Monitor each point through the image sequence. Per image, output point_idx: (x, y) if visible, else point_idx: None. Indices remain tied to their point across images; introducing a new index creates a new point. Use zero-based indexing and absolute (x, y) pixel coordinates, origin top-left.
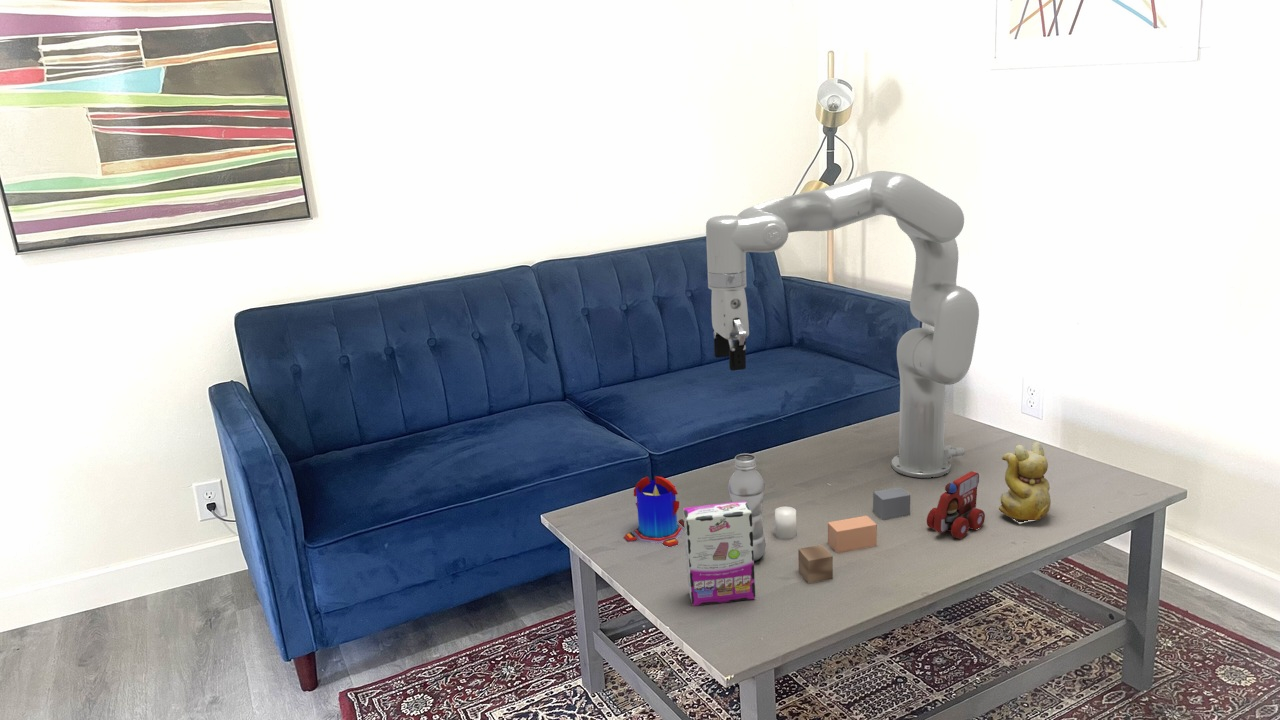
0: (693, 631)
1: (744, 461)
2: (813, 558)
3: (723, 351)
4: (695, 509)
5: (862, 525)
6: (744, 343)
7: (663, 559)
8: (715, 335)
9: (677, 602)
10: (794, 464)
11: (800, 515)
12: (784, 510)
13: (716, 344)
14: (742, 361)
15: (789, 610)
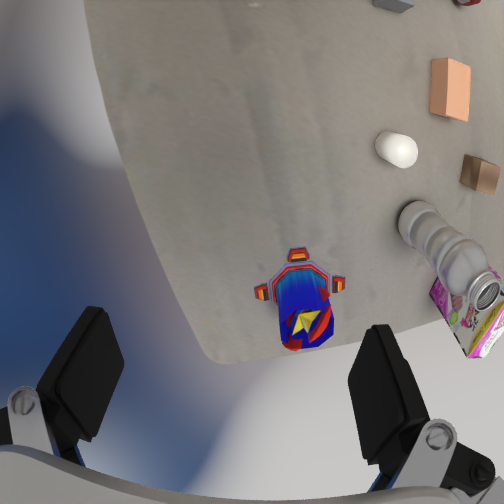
0: None
1: (494, 301)
2: (494, 187)
3: (103, 356)
4: (479, 349)
5: (467, 83)
6: (489, 465)
7: (364, 299)
8: (80, 456)
9: (433, 305)
10: (155, 29)
11: (345, 95)
12: (401, 152)
13: (101, 415)
14: (410, 374)
15: (493, 226)
